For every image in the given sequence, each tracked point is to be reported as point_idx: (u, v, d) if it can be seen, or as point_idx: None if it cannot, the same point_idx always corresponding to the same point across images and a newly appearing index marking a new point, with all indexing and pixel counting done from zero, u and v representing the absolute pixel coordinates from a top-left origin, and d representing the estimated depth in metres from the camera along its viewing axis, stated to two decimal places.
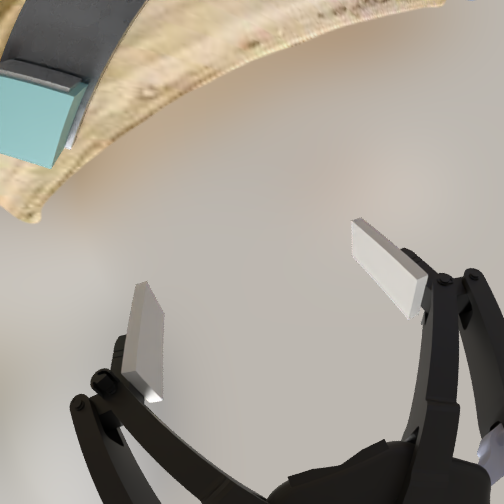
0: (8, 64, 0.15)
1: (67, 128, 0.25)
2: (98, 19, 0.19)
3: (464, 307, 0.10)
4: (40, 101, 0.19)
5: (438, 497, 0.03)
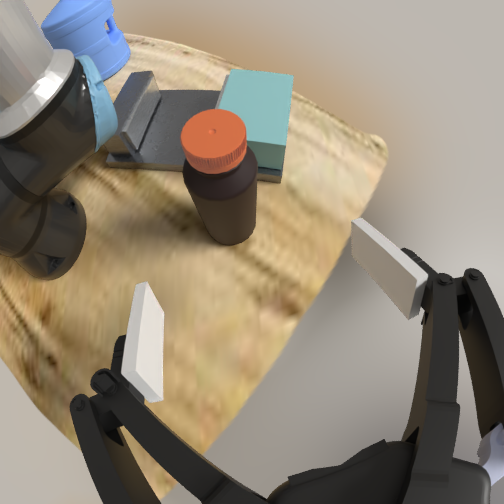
0: None
1: None
2: (182, 105, 0.41)
3: (464, 307, 0.10)
4: (237, 85, 0.34)
5: (438, 497, 0.03)
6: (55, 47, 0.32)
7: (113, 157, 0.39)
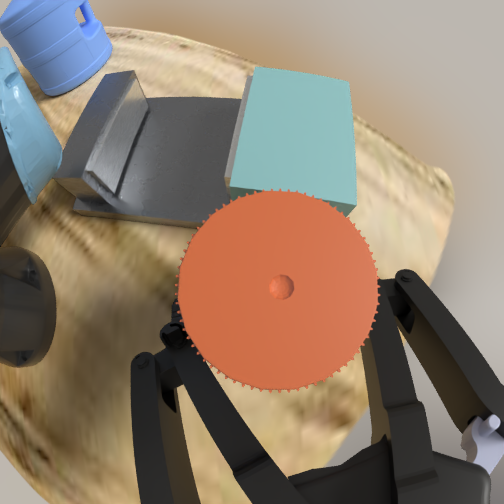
0: None
1: None
2: (180, 120, 0.28)
3: (397, 309, 0.12)
4: (267, 92, 0.22)
5: (438, 497, 0.03)
6: (14, 47, 0.20)
7: (82, 203, 0.26)
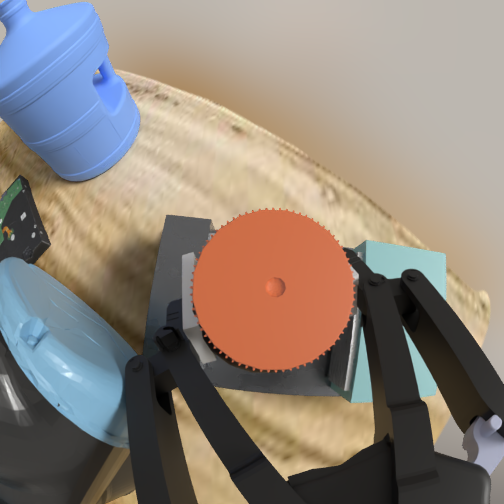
0: (337, 370, 0.23)
1: None
2: None
3: (403, 309, 0.12)
4: None
5: (438, 497, 0.03)
6: None
7: None
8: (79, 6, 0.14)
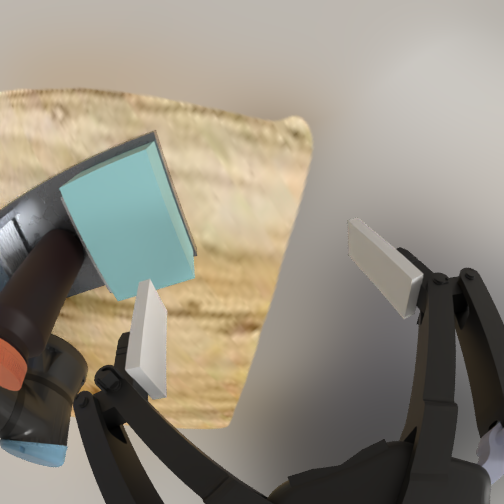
0: None
1: (113, 159, 0.24)
2: (41, 219, 0.27)
3: (460, 307, 0.11)
4: (87, 217, 0.23)
5: (438, 497, 0.03)
6: None
7: None
8: None
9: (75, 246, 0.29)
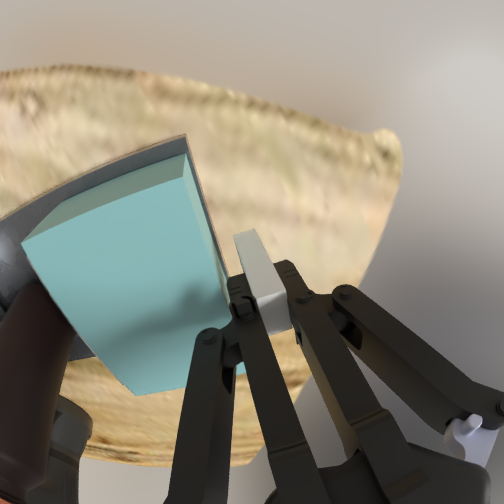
0: None
1: (114, 185, 0.14)
2: (13, 267, 0.17)
3: (336, 326, 0.12)
4: (75, 294, 0.13)
5: (438, 497, 0.03)
6: None
7: None
8: None
9: None
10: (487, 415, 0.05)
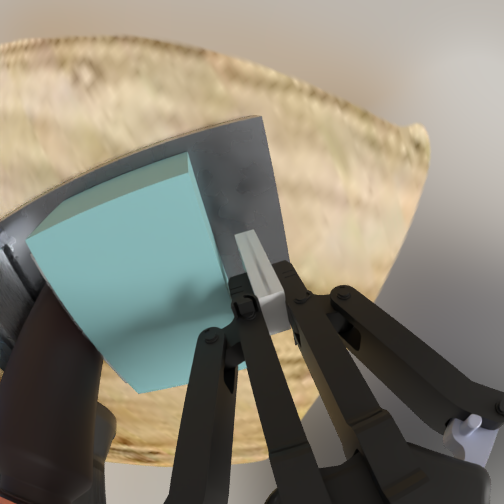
0: None
1: (118, 183, 0.14)
2: None
3: (334, 327, 0.12)
4: (79, 291, 0.13)
5: (438, 497, 0.03)
6: None
7: None
8: None
9: None
10: (487, 415, 0.05)
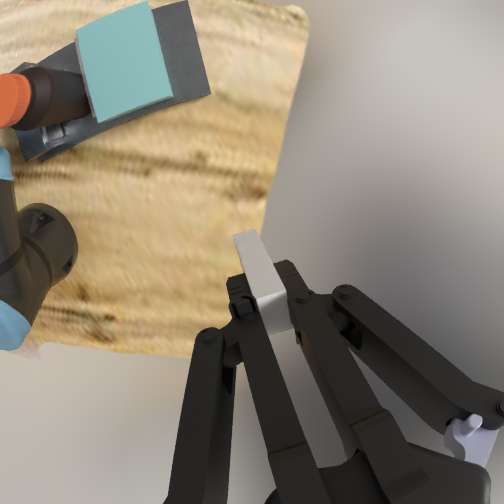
0: None
1: None
2: (75, 64, 0.26)
3: (336, 326, 0.12)
4: (92, 48, 0.22)
5: (438, 497, 0.03)
6: None
7: (46, 154, 0.31)
8: None
9: None
10: (487, 415, 0.05)
